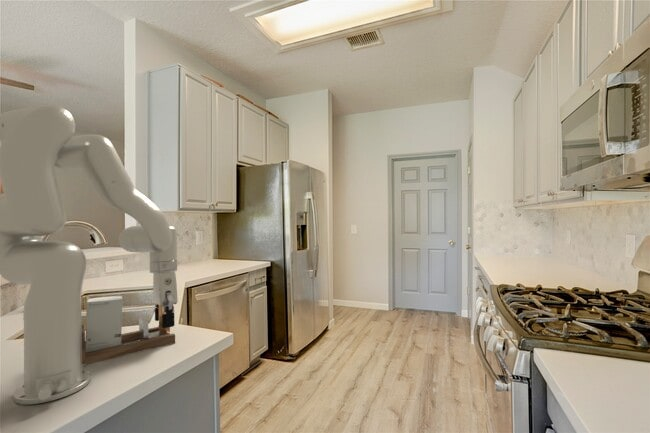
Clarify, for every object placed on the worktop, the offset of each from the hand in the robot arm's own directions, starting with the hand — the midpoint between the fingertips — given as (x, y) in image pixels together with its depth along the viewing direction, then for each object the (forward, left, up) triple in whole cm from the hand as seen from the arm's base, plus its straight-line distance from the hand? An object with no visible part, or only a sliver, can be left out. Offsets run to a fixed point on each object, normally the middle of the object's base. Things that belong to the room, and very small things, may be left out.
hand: (164, 323), depth 99 cm
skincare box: (0, +15, -5) cm, 16 cm away
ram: (0, +2, -5) cm, 5 cm away
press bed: (0, +10, -5) cm, 11 cm away
